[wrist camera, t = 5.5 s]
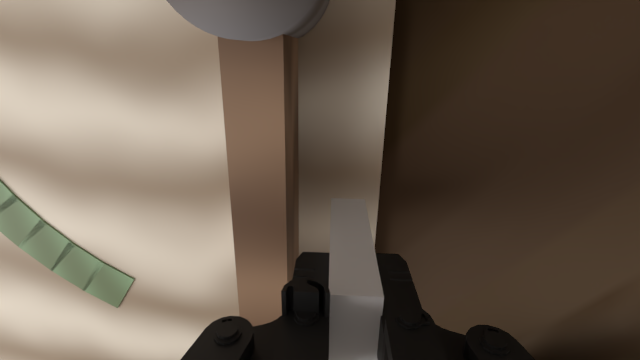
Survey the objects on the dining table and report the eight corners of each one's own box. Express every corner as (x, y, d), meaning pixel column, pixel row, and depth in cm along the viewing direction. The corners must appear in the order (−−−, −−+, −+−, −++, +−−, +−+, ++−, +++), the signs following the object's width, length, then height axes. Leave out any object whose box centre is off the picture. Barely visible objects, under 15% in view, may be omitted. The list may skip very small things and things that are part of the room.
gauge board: (-240, -154, 15) (-305, -177, 13) (403, -154, 14) (411, -179, 12) (-27, 340, 24) (-51, 359, 23) (361, 359, 23) (363, 381, 22)
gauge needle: (207, -95, 13) (121, -193, 8) (335, -94, 13) (334, -193, 8) (239, 316, 20) (205, 412, 15) (323, 320, 20) (318, 418, 14)
